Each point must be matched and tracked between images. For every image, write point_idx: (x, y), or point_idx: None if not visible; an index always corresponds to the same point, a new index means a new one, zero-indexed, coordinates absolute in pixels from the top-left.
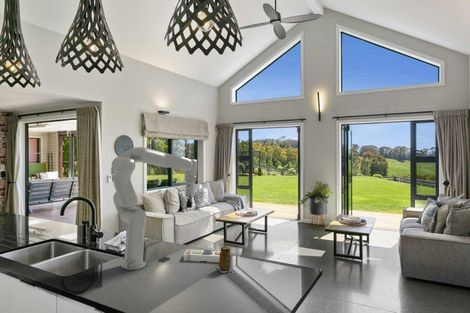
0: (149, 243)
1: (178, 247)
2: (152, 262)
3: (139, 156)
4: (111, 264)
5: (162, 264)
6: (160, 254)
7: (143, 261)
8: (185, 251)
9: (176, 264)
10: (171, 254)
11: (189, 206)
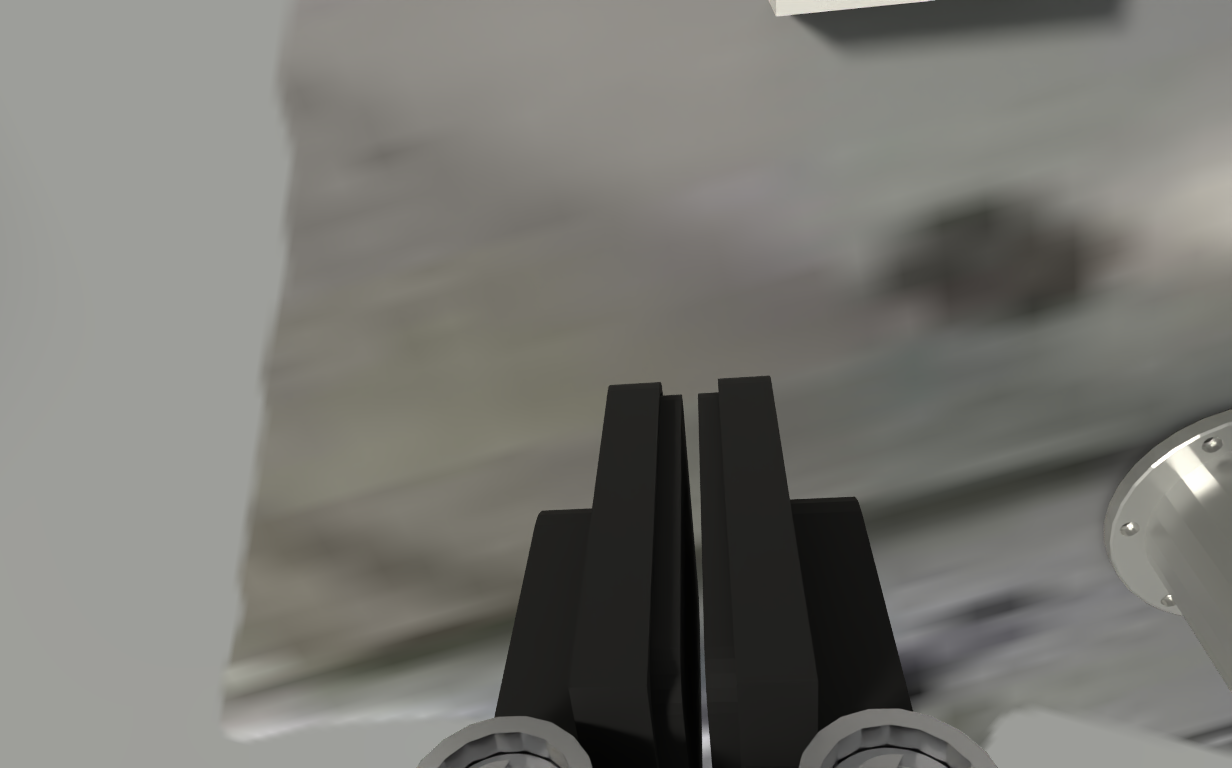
0: (408, 594)
1: (427, 226)
2: (1126, 363)
3: None
4: (1178, 682)
5: (1212, 226)
6: (801, 365)
7: (1181, 457)
8: (909, 2)
9: (1227, 32)
10: (775, 232)
11: (852, 509)
